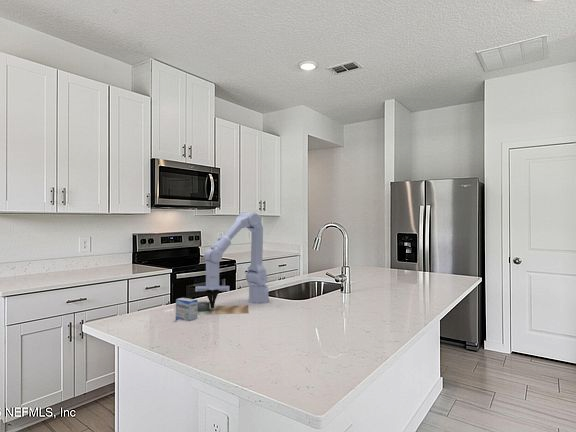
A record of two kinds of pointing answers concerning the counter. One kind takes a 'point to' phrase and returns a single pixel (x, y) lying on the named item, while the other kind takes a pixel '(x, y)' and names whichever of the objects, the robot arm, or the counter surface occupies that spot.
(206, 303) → the puck
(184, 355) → the counter surface
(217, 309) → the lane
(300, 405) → the counter surface
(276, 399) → the counter surface
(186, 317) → the medicine box
